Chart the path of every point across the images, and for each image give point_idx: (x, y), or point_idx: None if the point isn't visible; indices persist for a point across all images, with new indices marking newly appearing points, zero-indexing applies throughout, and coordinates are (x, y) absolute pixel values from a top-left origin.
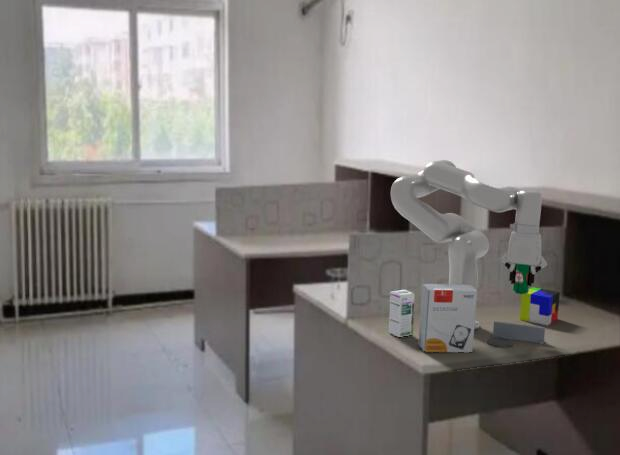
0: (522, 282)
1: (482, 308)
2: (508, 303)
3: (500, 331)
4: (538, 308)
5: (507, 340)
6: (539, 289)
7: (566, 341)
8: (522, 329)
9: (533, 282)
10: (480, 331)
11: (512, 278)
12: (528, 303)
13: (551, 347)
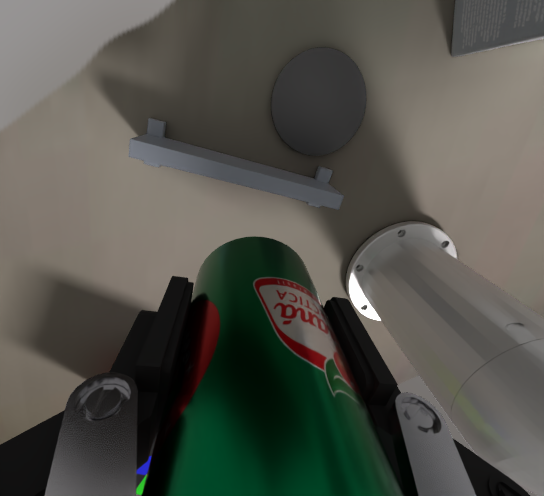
0: (261, 278)
1: None
2: None
3: (308, 180)
4: None
5: (288, 124)
6: (139, 485)
7: (61, 179)
8: (231, 162)
9: (144, 311)
10: (352, 229)
11: (356, 328)
12: None
13: (118, 85)
